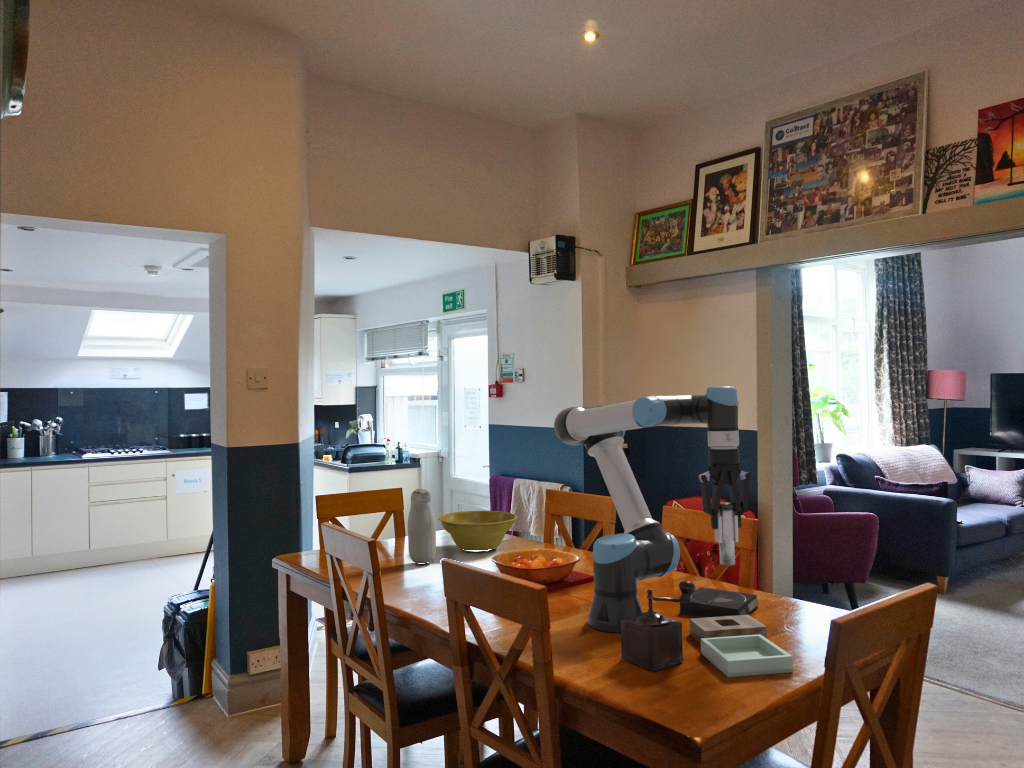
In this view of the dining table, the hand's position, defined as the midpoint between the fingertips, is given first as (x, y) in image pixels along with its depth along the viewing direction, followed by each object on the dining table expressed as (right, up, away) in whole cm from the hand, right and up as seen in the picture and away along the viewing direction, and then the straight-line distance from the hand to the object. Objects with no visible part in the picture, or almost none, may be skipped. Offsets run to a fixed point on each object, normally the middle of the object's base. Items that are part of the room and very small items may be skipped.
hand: (726, 541), depth 182 cm
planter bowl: (-67, -28, +115) cm, 136 cm away
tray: (0, -24, -15) cm, 29 cm away
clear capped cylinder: (0, -6, 0) cm, 6 cm away
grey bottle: (-87, -28, +91) cm, 129 cm away
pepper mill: (-19, -25, -12) cm, 34 cm away
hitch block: (+1, -25, +1) cm, 25 cm away
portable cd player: (+5, -26, +25) cm, 36 cm away
